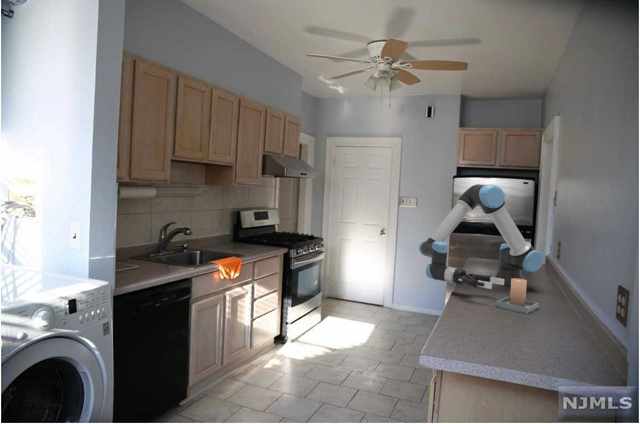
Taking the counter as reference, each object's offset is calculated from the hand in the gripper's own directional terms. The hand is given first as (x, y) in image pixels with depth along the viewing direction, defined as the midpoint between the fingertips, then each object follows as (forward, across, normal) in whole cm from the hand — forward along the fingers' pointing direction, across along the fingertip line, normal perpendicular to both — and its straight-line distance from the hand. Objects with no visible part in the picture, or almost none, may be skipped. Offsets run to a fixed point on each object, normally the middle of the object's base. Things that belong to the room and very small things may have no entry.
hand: (498, 284), depth 206 cm
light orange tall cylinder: (+9, 0, -8) cm, 12 cm away
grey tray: (+9, 0, -9) cm, 13 cm away
